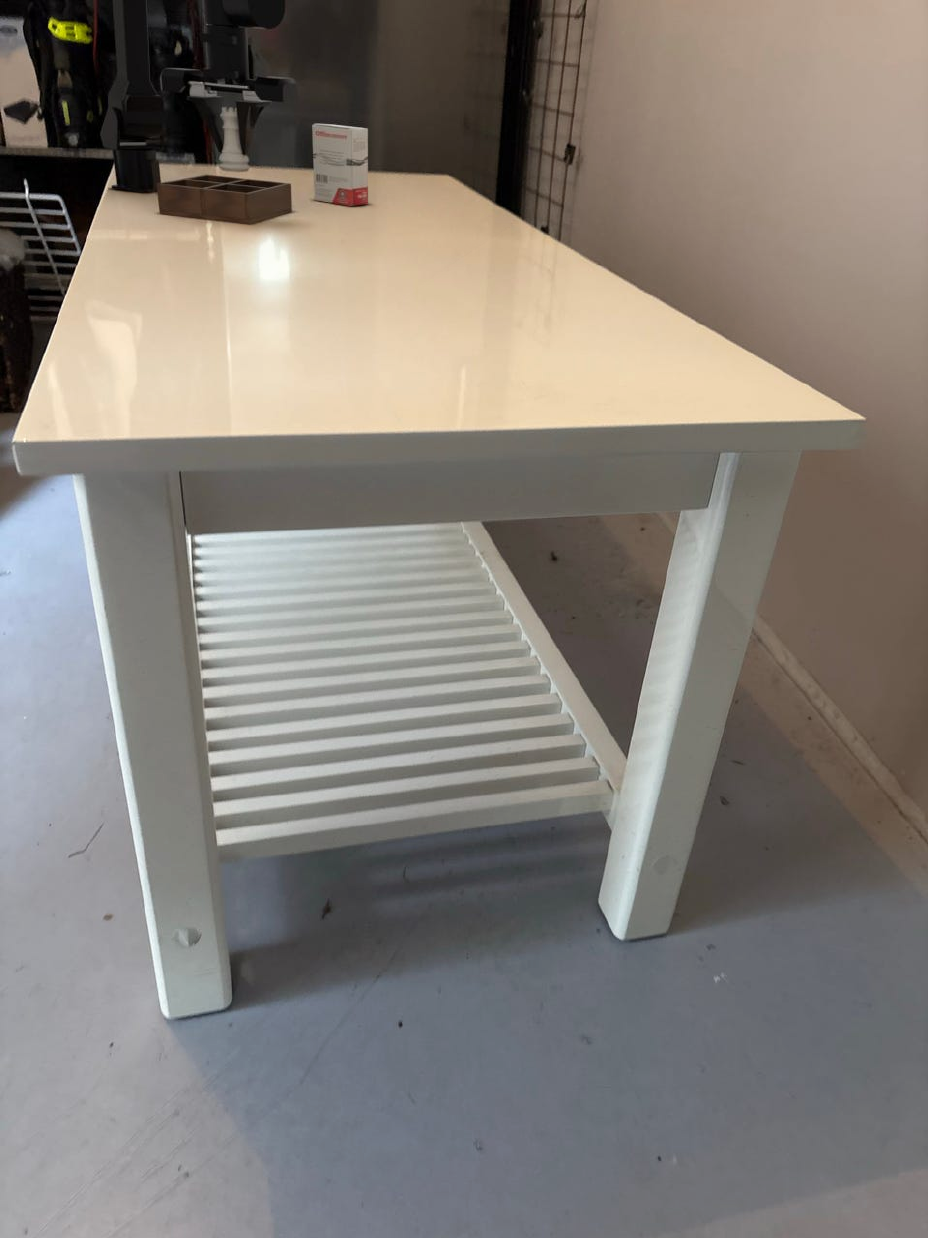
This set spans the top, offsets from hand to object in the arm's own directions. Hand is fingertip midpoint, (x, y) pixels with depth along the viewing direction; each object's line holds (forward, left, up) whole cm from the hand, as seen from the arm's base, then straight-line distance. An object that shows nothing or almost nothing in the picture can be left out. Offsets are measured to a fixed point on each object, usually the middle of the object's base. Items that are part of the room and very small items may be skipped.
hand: (233, 153), depth 131 cm
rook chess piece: (0, 0, -2) cm, 2 cm away
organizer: (-3, +3, -9) cm, 10 cm away
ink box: (+7, +25, -9) cm, 28 cm away
